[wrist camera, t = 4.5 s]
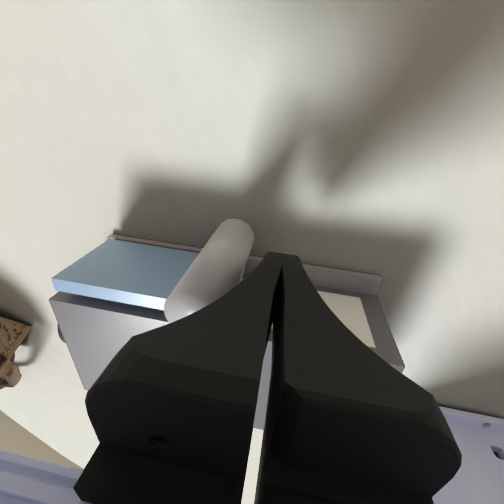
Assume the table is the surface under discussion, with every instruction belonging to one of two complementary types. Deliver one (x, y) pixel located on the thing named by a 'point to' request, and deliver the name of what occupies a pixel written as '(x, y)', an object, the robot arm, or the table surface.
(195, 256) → the door
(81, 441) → the table surface
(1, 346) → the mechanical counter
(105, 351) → the housing
